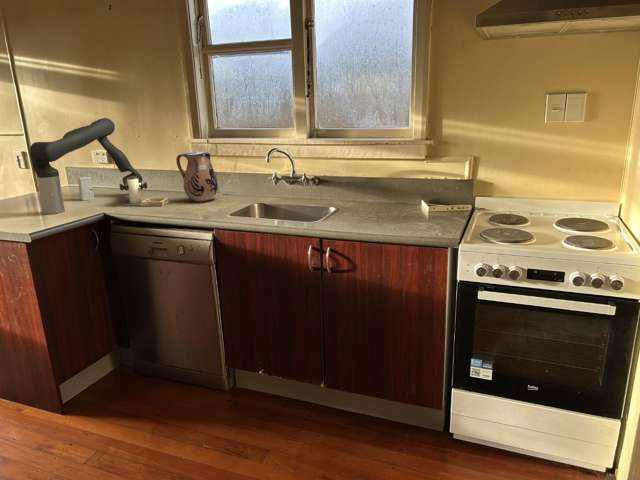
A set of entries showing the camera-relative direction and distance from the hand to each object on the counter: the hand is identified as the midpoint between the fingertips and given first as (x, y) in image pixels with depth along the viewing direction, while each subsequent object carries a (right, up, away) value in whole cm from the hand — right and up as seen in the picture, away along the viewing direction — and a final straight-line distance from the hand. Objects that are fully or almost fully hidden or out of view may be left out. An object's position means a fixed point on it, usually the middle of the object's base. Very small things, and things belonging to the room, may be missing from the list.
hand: (134, 188), depth 239 cm
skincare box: (-33, -4, +21) cm, 39 cm away
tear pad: (-1, -8, +4) cm, 9 cm away
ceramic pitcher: (+29, -5, +14) cm, 33 cm away
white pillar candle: (-1, -7, +4) cm, 8 cm away
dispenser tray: (+9, -8, +4) cm, 13 cm away
